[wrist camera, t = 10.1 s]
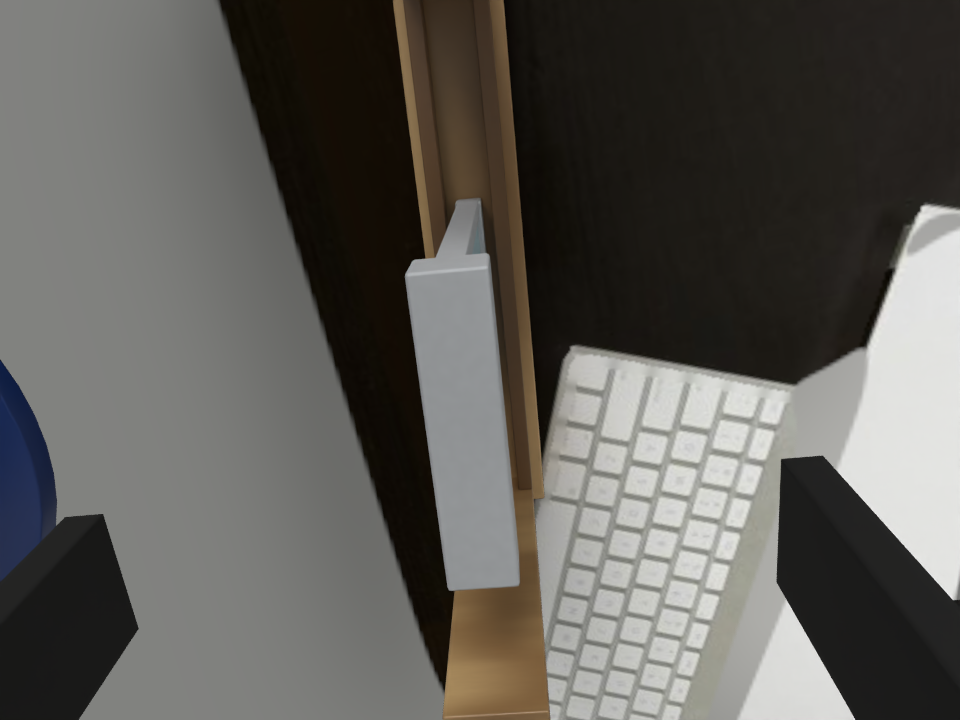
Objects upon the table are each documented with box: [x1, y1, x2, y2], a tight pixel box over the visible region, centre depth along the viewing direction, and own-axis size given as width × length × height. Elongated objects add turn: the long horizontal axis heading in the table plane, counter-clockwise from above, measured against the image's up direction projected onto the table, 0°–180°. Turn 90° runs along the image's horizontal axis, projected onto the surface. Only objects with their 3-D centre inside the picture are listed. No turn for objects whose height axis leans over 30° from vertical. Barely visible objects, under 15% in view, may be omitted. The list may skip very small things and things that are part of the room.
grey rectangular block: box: [405, 198, 520, 591], centre depth 25 cm, size 2×9×12 cm, turn 6°
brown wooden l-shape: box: [393, 0, 550, 720], centre depth 25 cm, size 4×22×15 cm, turn 6°
